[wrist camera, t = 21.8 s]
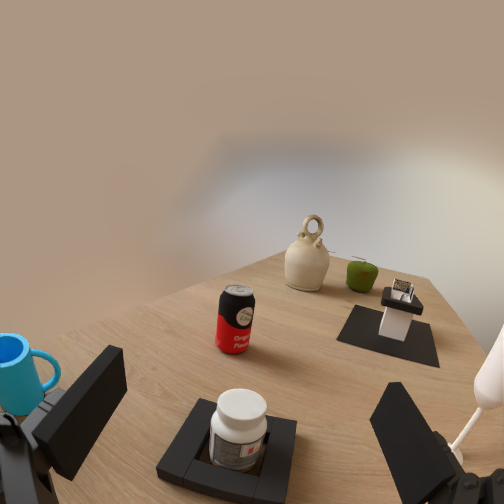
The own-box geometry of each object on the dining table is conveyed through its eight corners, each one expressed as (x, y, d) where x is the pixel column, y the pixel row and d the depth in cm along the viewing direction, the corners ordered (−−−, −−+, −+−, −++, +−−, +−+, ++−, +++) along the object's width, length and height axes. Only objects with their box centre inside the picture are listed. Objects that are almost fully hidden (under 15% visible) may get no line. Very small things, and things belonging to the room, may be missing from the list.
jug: (279, 276, 103) (289, 210, 98) (318, 281, 103) (330, 217, 98) (282, 290, 88) (295, 212, 83) (328, 295, 88) (343, 220, 83)
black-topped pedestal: (439, 367, 46) (461, 313, 43) (336, 340, 58) (351, 284, 55) (429, 324, 70) (442, 284, 67) (355, 304, 82) (365, 264, 79)
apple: (350, 282, 108) (356, 255, 105) (376, 291, 100) (383, 263, 98) (337, 287, 99) (344, 258, 96) (366, 297, 91) (374, 267, 88)
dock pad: (157, 477, 20) (155, 467, 19) (198, 409, 32) (199, 397, 32) (279, 511, 17) (284, 503, 17) (292, 432, 30) (297, 420, 29)
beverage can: (211, 352, 47) (217, 292, 45) (218, 336, 53) (224, 281, 51) (245, 359, 47) (255, 298, 44) (249, 342, 53) (258, 286, 51)
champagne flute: (423, 465, 21) (515, 300, 16) (433, 437, 26) (505, 288, 21) (459, 476, 17) (558, 315, 12) (465, 447, 22) (543, 301, 17)
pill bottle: (267, 462, 24) (285, 409, 22) (226, 482, 21) (235, 432, 19) (238, 434, 29) (248, 378, 27) (198, 449, 25) (201, 394, 23)
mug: (0, 418, 17) (-23, 369, 15) (-3, 380, 22) (-19, 334, 21) (73, 407, 25) (59, 360, 24) (61, 372, 31) (50, 327, 29)
